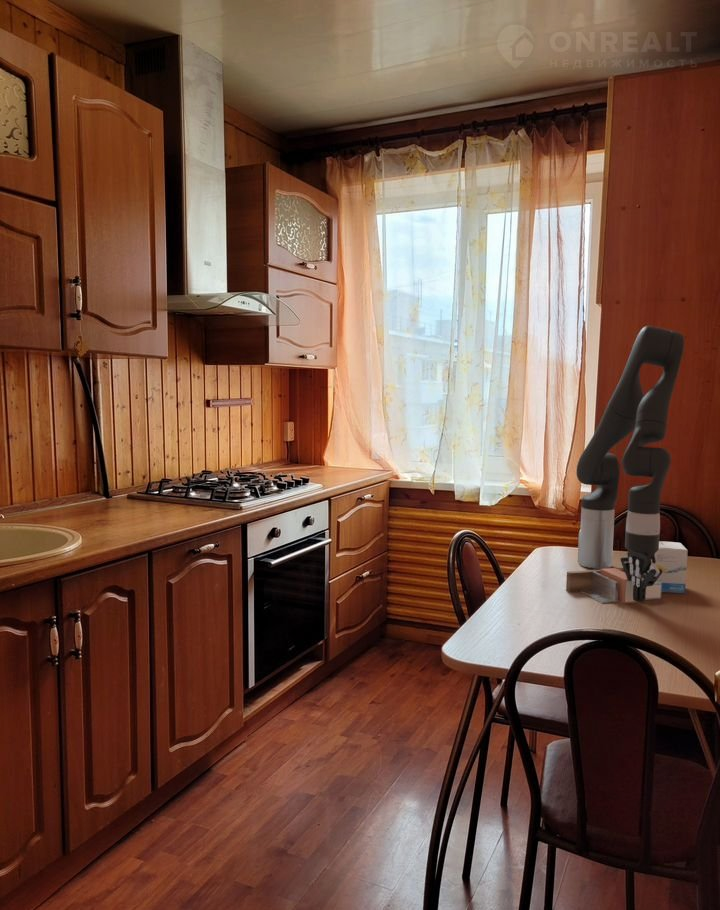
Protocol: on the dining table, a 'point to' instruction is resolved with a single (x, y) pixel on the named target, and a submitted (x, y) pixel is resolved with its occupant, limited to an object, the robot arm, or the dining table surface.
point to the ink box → (672, 566)
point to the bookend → (602, 589)
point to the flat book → (654, 591)
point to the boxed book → (620, 584)
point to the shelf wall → (581, 580)
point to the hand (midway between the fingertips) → (638, 600)
